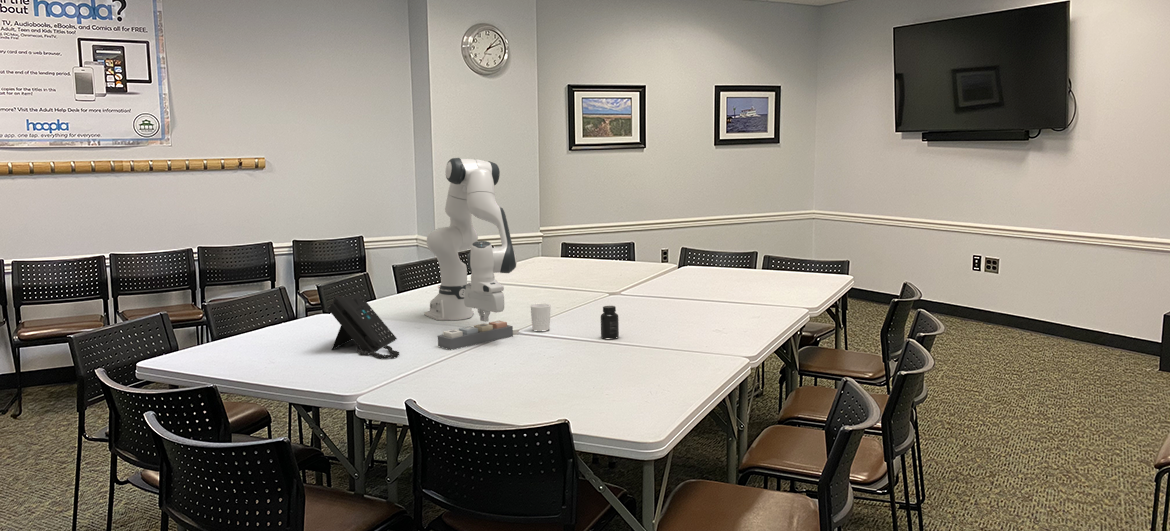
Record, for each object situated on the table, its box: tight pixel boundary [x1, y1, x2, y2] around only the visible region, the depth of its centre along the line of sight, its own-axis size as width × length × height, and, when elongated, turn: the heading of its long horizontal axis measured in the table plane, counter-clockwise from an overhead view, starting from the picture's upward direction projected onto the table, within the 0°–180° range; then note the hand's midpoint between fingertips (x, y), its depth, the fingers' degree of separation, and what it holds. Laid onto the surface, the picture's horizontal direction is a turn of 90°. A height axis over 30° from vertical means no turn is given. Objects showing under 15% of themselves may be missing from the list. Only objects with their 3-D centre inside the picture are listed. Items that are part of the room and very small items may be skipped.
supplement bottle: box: [600, 305, 620, 339], centre depth 318 cm, size 7×7×12 cm
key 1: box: [442, 329, 463, 338], centre depth 308 cm, size 5×5×3 cm
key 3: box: [473, 322, 493, 332], centre depth 317 cm, size 5×5×3 cm
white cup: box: [530, 303, 552, 331], centre depth 332 cm, size 8×8×10 cm
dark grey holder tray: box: [437, 324, 514, 351], centre depth 315 cm, size 8×29×4 cm, turn 135°
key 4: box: [488, 320, 508, 329], centre depth 322 cm, size 5×5×3 cm
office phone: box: [327, 292, 400, 360], centre depth 305 cm, size 29×28×20 cm
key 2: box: [458, 325, 478, 335], centre depth 313 cm, size 5×5×3 cm
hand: (484, 321), depth 317 cm, fingers closed
